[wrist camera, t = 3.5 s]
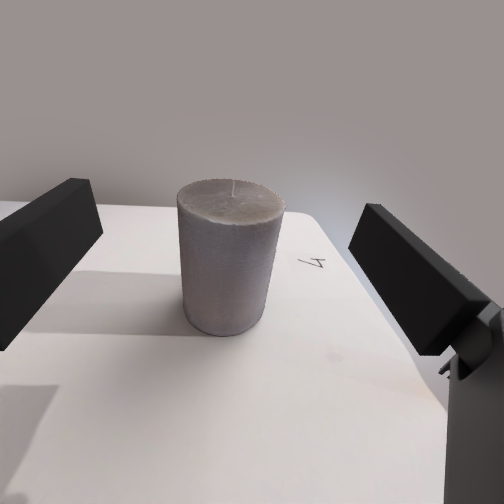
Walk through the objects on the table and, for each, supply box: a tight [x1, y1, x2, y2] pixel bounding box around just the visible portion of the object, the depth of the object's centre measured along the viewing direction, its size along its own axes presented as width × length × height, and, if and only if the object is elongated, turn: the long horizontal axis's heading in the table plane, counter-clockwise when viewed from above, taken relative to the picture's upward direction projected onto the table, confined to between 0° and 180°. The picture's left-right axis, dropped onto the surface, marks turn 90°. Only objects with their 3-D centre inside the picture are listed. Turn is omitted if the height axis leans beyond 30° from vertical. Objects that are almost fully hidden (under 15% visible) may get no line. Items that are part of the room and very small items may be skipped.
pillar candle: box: [177, 179, 286, 336], centre depth 25 cm, size 10×10×15 cm
